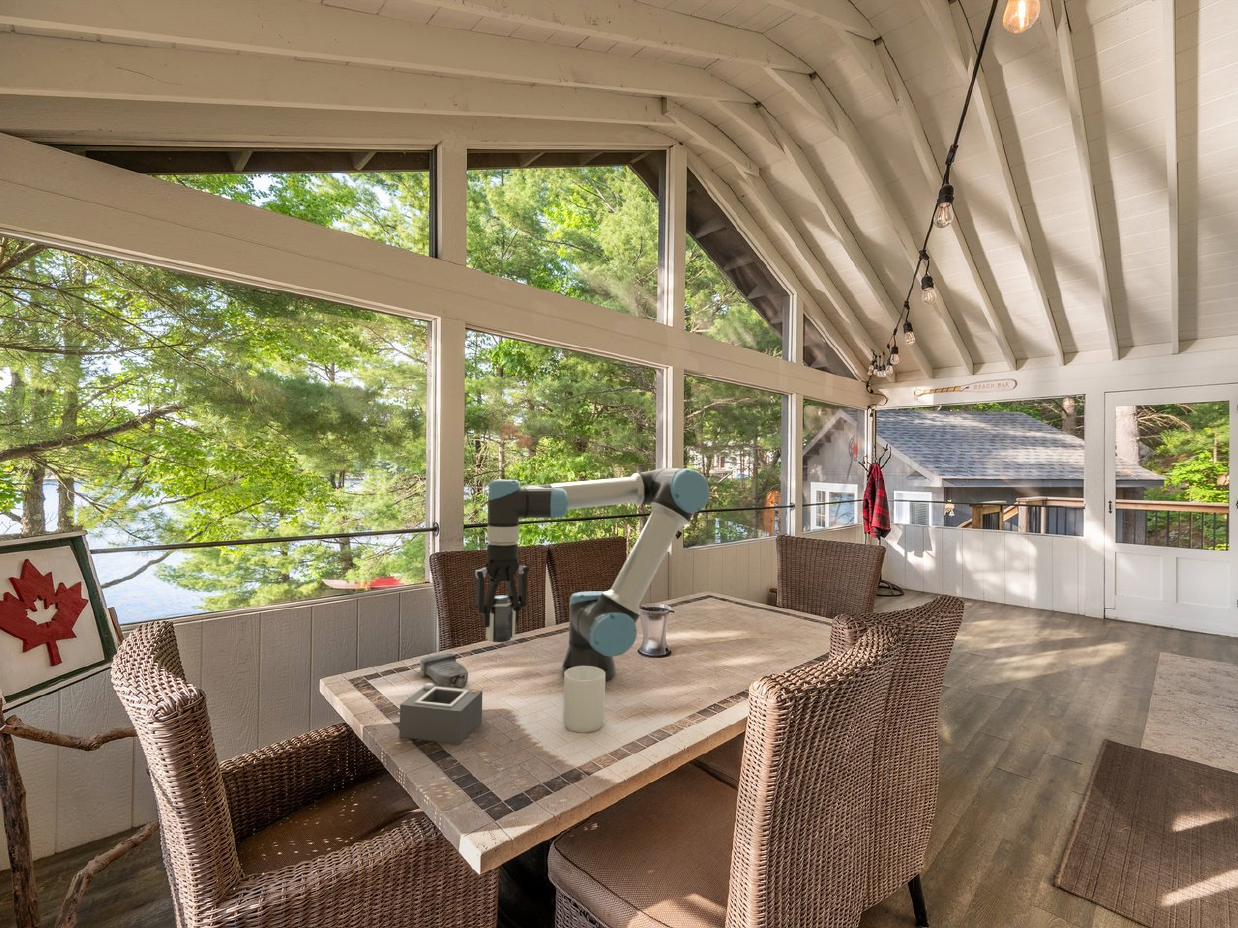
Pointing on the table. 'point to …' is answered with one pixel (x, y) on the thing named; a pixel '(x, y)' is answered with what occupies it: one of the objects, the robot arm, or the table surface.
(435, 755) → the table surface
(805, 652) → the table surface
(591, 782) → the table surface
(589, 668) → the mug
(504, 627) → the lens
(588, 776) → the table surface
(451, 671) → the handheld device
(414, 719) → the grey planter box
